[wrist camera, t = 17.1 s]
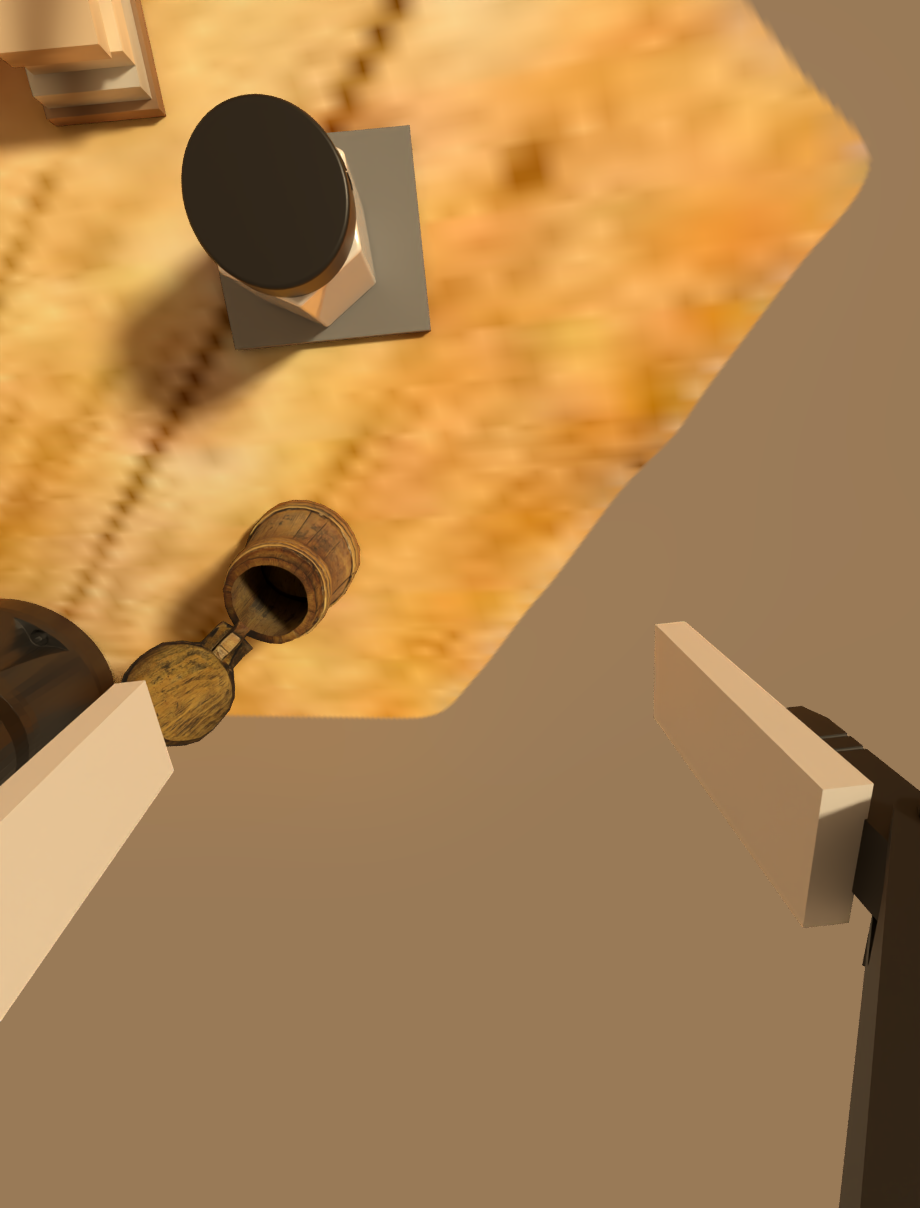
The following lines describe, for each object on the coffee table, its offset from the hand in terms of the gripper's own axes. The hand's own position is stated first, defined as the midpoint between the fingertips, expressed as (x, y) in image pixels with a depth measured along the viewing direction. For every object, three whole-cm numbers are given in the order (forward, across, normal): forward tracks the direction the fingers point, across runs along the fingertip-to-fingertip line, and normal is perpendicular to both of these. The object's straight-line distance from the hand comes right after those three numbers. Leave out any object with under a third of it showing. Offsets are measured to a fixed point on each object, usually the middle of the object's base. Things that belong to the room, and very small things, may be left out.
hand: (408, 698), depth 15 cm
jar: (+32, -5, +17) cm, 37 cm away
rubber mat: (+33, -5, +18) cm, 38 cm away
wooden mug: (+33, -12, -5) cm, 35 cm away
